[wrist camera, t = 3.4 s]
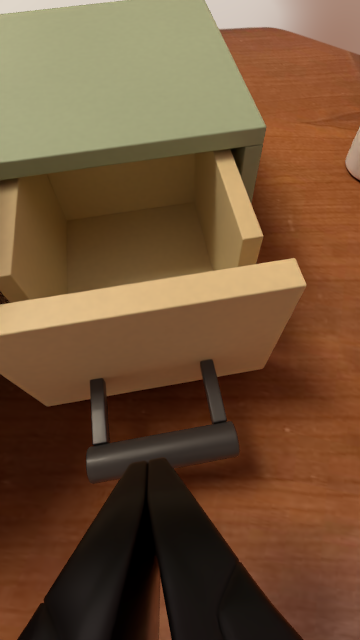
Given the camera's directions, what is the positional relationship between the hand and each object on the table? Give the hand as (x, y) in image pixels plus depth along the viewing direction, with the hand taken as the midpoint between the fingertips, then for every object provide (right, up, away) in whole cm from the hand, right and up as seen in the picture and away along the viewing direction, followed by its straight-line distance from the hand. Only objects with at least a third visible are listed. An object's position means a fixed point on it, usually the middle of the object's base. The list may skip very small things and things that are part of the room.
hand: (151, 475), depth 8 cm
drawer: (-1, +4, +12) cm, 12 cm away
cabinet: (-3, +12, +17) cm, 21 cm away
